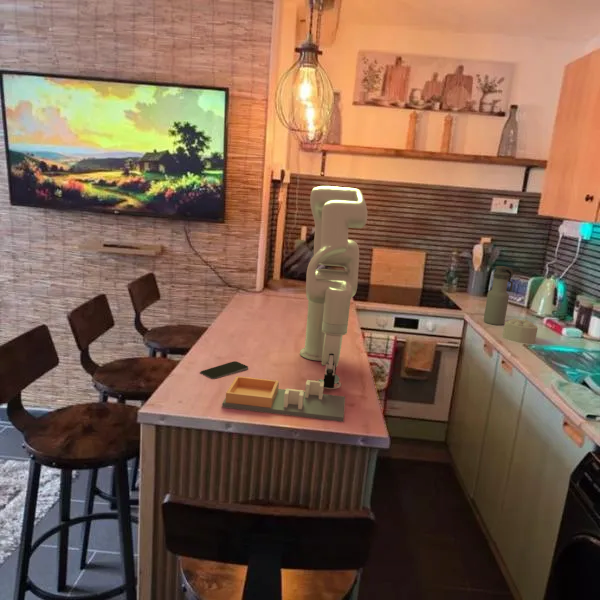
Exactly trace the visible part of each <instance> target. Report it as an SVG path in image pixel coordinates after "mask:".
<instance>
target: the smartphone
mask: <svg viewBox="0 0 600 600" xmlns="http://www.w3.org/2000/svg"><path fill="white" fill-rule="evenodd" d="M247 370H249V366H248V365H245V364H244V363H242V362H240V361H236V360H235V361H230V362H227V363H223V364H221V365H217V366H214V367H211V368H210V367H209V368H207V369H203V370H200V372H199V373H200V374H201V375H202V374H203V376H205V377H206V378H209V379H210V380H217V379H221V378H223V377H227V376H232V375H234V374H235V375H236V374H238V373H241V372H245V371H247Z"/></svg>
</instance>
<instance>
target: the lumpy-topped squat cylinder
mask: <svg viewBox="0 0 600 600" xmlns="http://www.w3.org/2000/svg"><path fill="white" fill-rule="evenodd" d="M538 329H539V328H538V326H536V324H534V322H532V321H529V320H528V319H525V318H523V319H519V318H512V319H509V320H505V322H504V327H503V333H502V338H503V339H505V340H507V341H511V342H515V343H519V344H527V345H535V344H536V338H537V333H538Z"/></svg>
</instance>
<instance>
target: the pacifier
mask: <svg viewBox="0 0 600 600" xmlns="http://www.w3.org/2000/svg"><path fill="white" fill-rule="evenodd" d="M332 369H333V368H332ZM325 371H326V367H325V369H324V372H325ZM334 375H335V381H334V388H327V387H324V389H328V390H336V389H338V388H340V387H341V386H342V383H341V382H340V377H339V375H337V374H334ZM317 381H321V382H324V379H319V378H318V379H317Z"/></svg>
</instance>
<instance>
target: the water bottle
mask: <svg viewBox="0 0 600 600" xmlns="http://www.w3.org/2000/svg"><path fill="white" fill-rule="evenodd" d="M495 269H496V270H495V271H494V273H493V282H492V285H491V286H492V287H491V290H489V291H488V292H487V297H486V300H485V301H486V302H485V306H484V307H485V308H484V315H483V322H484V323H486V324H489V325H492V326H502V325H505V322H506V316H507V312H508V311H507V309H508V303H509V298H510V296H509V295H510V294H509V293H508V292H512V290H513V287H514V283H513V281H512V278H513V276H514V270H513V269H512V268H511V267H509V266H504V265H496V266H495ZM504 270H505V271H504ZM508 282H509V283H510V287H509V289H508V288H507V287H508V284H509V283H508Z"/></svg>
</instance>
